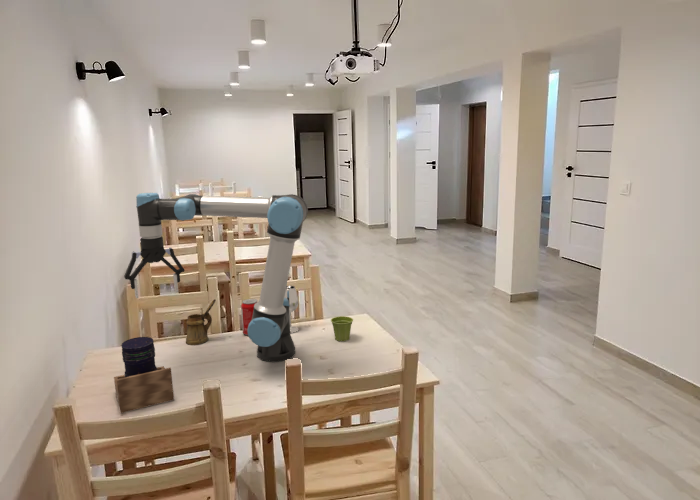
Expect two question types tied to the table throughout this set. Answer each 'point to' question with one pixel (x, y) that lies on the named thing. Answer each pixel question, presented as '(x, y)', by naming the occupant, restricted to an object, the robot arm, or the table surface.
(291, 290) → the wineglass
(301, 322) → the table surface
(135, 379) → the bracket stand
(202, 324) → the wooden mug
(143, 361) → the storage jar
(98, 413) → the table surface
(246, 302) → the soda can
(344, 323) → the plant pot
